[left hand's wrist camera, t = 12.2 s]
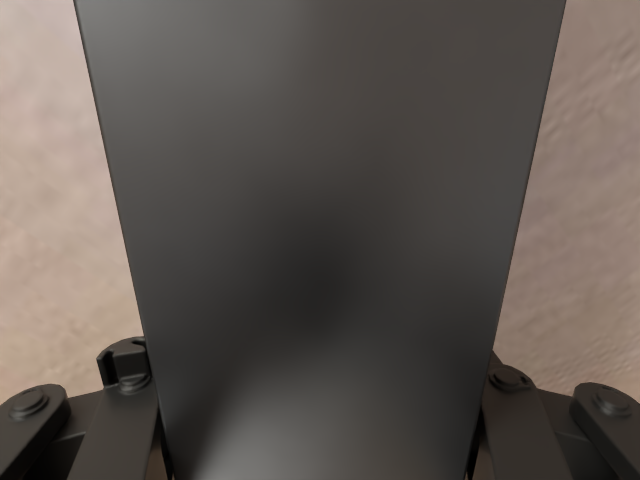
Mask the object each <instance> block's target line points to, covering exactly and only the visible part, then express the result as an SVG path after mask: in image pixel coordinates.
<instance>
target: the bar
mask: <svg viewBox="0 0 640 480" xmlns="http://www.w3.org/2000/svg"><path fill="white" fill-rule="evenodd" d="M73 2H74V6H75V11H76V16H77V21H78V25H79V30H80V35H81V40H82V44H83V49H84V54H85V58H86V63H87V68H88V73H89V77H90V82H91V87H92V92H93V96H94V101H95V106H96V111H97V115H98V120H99V125H100V130H101V134H102V139H103V144H104V148H105V153H106V158H107V163H108V167H109V172H110V177H111V182H112V186H113V191H114V196H115V201H116V205H117V210H118V215H119V220H120V224H121V229H122V234H123V238H124V243H125V248H126V253H127V257H128V262H129V267H130V272H131V276H132V281H133V286H134V291H135V295H136V300H137V305H138V310H139V314H140V319H141V324H142V328H143V333H144V338H145V343H146V347H147V352H148V357H149V362H150V366H151V371H152V376H153V381H154V385H155V390H156V395H157V399H158V404H159V409H160V414H161V418H162V423H163V428H164V433H165V437H166V442H167V447H168V452H169V456H170V461H171V466H172V471H173V475H174V480H465V477H466V473H467V468H468V463H469V458H470V454H471V449H472V444H473V440H474V435H475V430H476V425H477V421H478V416H479V411H480V406H481V402H482V397H483V392H484V388H485V383H486V378H487V373H488V369H489V364H490V359H491V354H492V350H493V345H494V340H495V336H496V331H497V326H498V321H499V317H500V312H501V307H502V302H503V298H504V293H505V288H506V284H507V279H508V274H509V269H510V265H511V260H512V255H513V250H514V246H515V241H516V236H517V232H518V227H519V222H520V217H521V213H522V208H523V203H524V198H525V194H526V189H527V184H528V180H529V175H530V170H531V165H532V161H533V156H534V151H535V146H536V142H537V137H538V132H539V128H540V123H541V118H542V113H543V109H544V104H545V99H546V94H547V90H548V85H549V80H550V75H551V71H552V66H553V61H554V57H555V52H556V47H557V42H558V38H559V33H560V28H561V23H562V19H563V14H564V9H565V5H566V0H73Z"/></svg>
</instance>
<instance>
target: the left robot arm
mask: <svg viewBox="0 0 640 480" xmlns="http://www.w3.org/2000/svg"><path fill="white" fill-rule="evenodd" d="M96 360H97V363H98V367H99V371H100V375H101V378H102V382H103V386H104V388H103V390H100V391H97V392H93V393H89V394H84V395H80V396H75V397H71V398H68V397H67V394H66V391H65V389H64V388H63V387H62V386H60V385H55V384H46V385H40V386H36V387H32V388H29V389H27V390H24V391H22V392H20V393H19V394H17V395H15V396H13V397H11V398H10V399H8V400H7V401H6V402H4V403H3V404H2V405H0V480H174V475H173V471H172V466H171V461H170V456H169V452H168V447H167V442H166V437H165V433H164V428H163V423H162V418H161V414H160V409H159V404H158V399H157V395H156V390H155V385H154V381H153V376H152V371H151V366H150V362H149V357H148V352H147V347H146V343H145V338H144V336H142V337H132V338H128V339H124V340H121V341H119V342H116V343H114V344H112V345H110V346H109V347H107V348H106V349H105V350H103V351H102V352H101V353H100V354H99V356H98V357H97V358H96ZM465 480H640V404H639V403H638V402H637V401H635V400H634V399H633V398H631V397H630V396H628V395H627V394H625V393H623V392H621V391H619V390H617V389H615V388H612V387H609V386H606V385H603V384H598V383H591V382H589V383H581V384H579V385H578V386H577V387H575V390H574V393H573V396H572V397H571V396H567V395H562V394H558V393H553V392H549V391H545V390H541V389H538V388H536V386H535V384H534V383H533V381H532V380H531V379H530V378H529V377H528V376H526V375H525V374H524V373H523V372H521V371H519V370H517V369H515V368H513V367H511V366H508V365H504V364H502V362H501V361H500V359H499V358H498V357H497V355H496V354H495V353H494V351H493V350H492V354H491V359H490V364H489V369H488V373H487V378H486V383H485V388H484V392H483V397H482V402H481V406H480V411H479V416H478V421H477V425H476V430H475V435H474V440H473V444H472V449H471V454H470V458H469V463H468V468H467V473H466V477H465Z"/></svg>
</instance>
